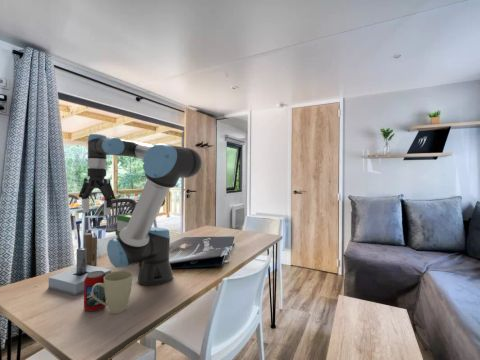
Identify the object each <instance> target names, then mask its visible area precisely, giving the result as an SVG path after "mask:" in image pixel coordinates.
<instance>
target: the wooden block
mask: <svg viewBox="0 0 480 360" xmlns="http://www.w3.org/2000/svg"><path fill="white" fill-rule="evenodd" d="M83 248H87V265H91V266H95V267H96V265H97V264H98V258H97V257H98V256H97V255H98V253H97V252H98V237H97V236H95V237H94V236H93V233H89V232H88V233H84V234H83Z"/></svg>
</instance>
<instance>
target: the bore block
mask: <svg viewBox="0 0 480 360" xmlns="http://www.w3.org/2000/svg"><path fill="white" fill-rule="evenodd" d="M94 271H104V273H105V275H107V274H109V273H112V269H109V268H105V267H99V266H96V265H95V266H91V265H87V267H86V274H85V275H82V276H77V275H76V267H75V268H72V269H69V270H66V271H63V272H61V273H60V272H59V273H56V274H54V275H52V276H49V277H48V289H50V290H53V291H57V292H60V293H64V294H68V295H72V296H75V297H76V296H78V295H80V294H84V280H85V278H86V276H87V274H88V273H90V272H94Z"/></svg>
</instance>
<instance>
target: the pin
mask: <svg viewBox="0 0 480 360" xmlns="http://www.w3.org/2000/svg"><path fill="white" fill-rule="evenodd" d="M86 267H87V248H84V247H80V248H77V249H76V266H75V268H76V275H77V276H82V275H85V274H86Z"/></svg>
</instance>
